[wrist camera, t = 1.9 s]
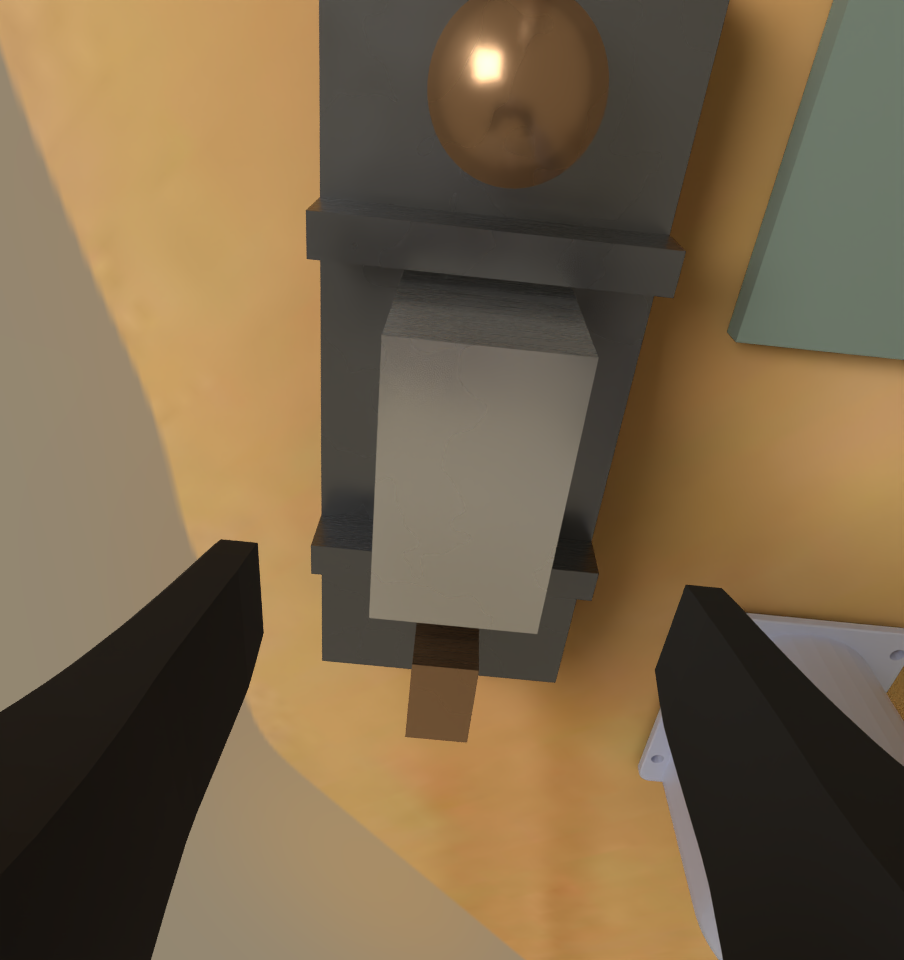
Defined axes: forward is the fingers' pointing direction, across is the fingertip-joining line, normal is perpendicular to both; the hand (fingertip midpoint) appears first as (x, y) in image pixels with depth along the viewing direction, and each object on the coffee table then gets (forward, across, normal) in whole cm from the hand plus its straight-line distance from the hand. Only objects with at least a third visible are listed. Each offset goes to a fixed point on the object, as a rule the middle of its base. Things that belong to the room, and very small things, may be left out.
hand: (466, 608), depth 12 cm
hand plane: (+10, 0, 0) cm, 10 cm away
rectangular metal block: (+8, 0, 0) cm, 8 cm away
